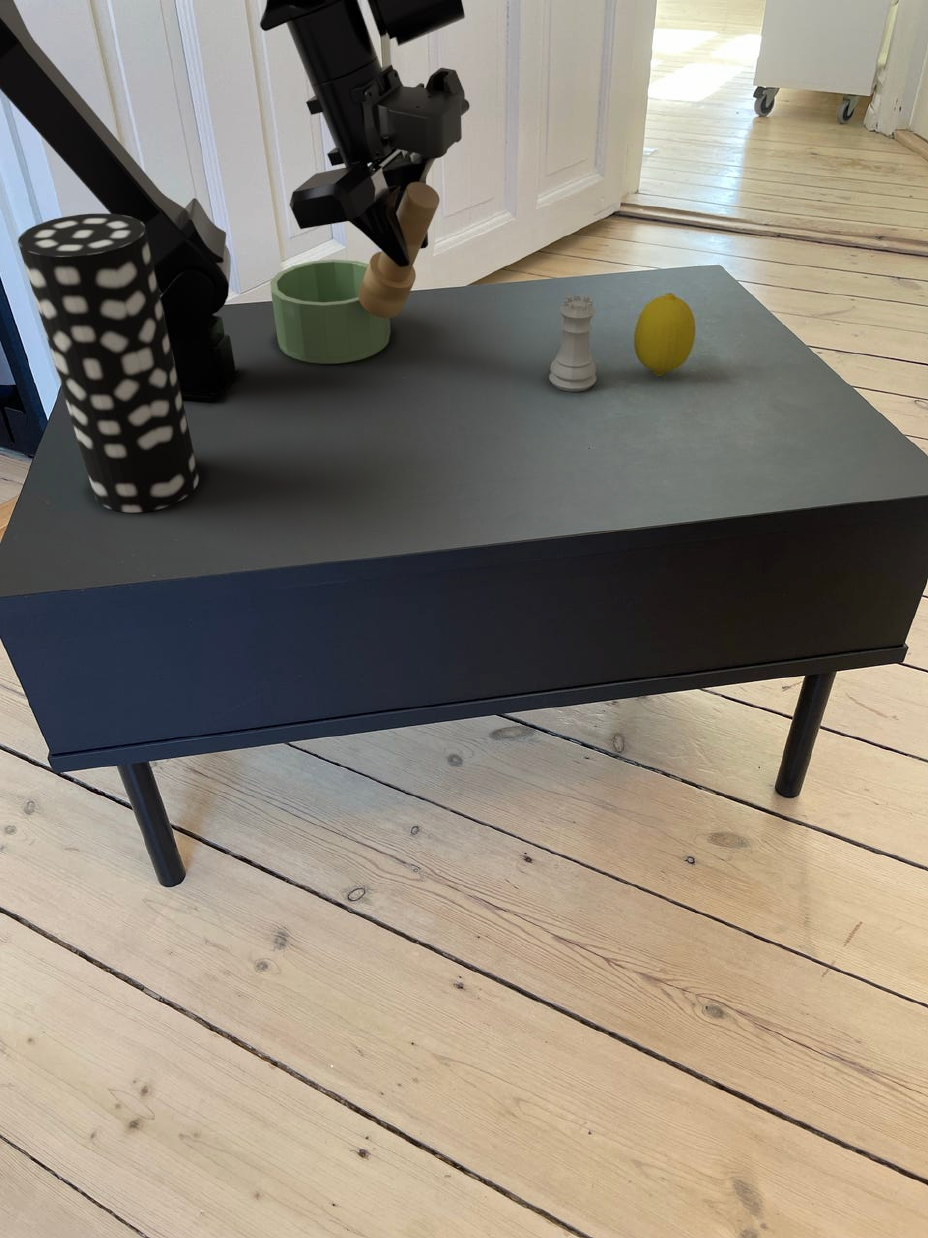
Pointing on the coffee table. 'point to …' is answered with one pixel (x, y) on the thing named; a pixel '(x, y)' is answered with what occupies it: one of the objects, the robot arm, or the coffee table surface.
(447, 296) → the coffee table surface
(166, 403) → the white-spotted black cylinder
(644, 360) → the lemon
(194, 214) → the robot arm
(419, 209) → the pestle
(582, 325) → the rook chess piece
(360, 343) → the crock
